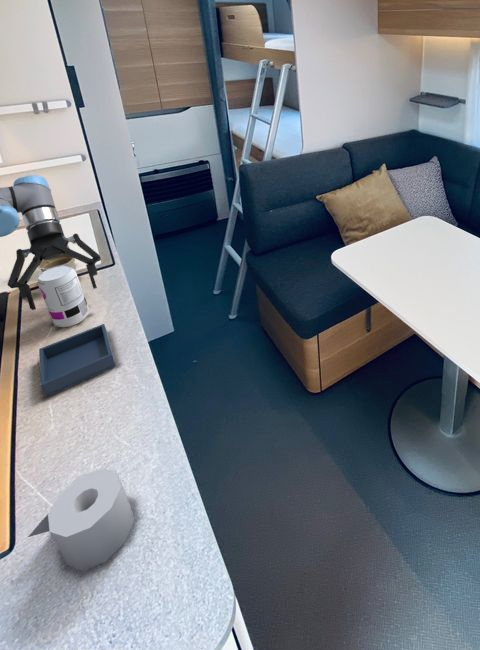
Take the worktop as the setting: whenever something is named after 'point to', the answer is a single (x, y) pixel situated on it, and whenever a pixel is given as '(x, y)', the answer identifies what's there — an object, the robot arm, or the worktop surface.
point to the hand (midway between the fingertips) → (65, 297)
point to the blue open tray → (75, 359)
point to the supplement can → (63, 295)
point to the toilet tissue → (89, 519)
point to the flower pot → (57, 262)
